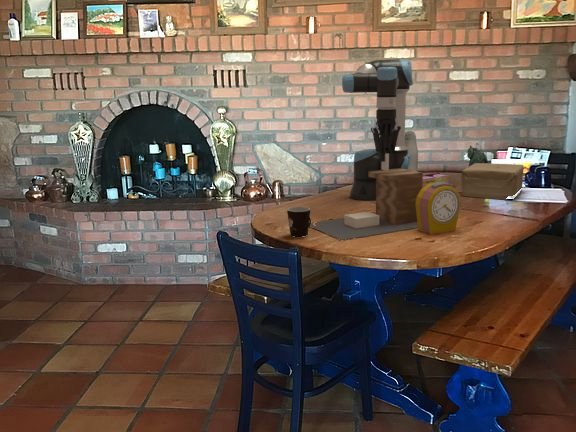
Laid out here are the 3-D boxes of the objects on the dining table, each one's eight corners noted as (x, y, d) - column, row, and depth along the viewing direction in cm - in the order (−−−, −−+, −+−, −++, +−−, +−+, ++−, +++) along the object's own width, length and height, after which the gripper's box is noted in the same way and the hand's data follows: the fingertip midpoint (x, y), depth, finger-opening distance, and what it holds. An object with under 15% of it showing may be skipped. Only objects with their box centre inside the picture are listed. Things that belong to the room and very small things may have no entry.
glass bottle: (398, 179, 327) (399, 130, 320) (416, 179, 325) (418, 130, 319) (399, 182, 317) (400, 131, 311) (417, 182, 316) (419, 131, 309)
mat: (303, 224, 227) (303, 223, 227) (392, 211, 246) (392, 210, 246) (341, 240, 203) (341, 239, 203) (436, 225, 222) (436, 224, 222)
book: (367, 211, 228) (367, 221, 229) (344, 214, 223) (344, 224, 224) (379, 215, 221) (379, 225, 222) (355, 219, 216) (355, 229, 217)
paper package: (471, 187, 298) (473, 161, 295) (524, 191, 285) (526, 164, 282) (458, 197, 276) (460, 168, 272) (514, 201, 263) (517, 171, 260)
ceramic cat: (465, 176, 334) (466, 141, 330) (475, 175, 335) (477, 141, 330) (479, 181, 315) (481, 145, 310) (490, 181, 316) (493, 145, 311)
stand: (367, 220, 232) (368, 171, 228) (399, 215, 240) (400, 168, 235) (388, 227, 220) (389, 176, 216) (420, 222, 227) (422, 172, 223)
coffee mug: (286, 232, 215) (286, 207, 213) (309, 232, 216) (308, 206, 213) (289, 241, 204) (288, 214, 201) (313, 240, 204) (312, 213, 202)
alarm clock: (427, 235, 208) (429, 185, 204) (414, 230, 216) (416, 182, 211) (460, 230, 214) (462, 182, 210) (446, 225, 221) (448, 179, 217)
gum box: (437, 201, 267) (439, 172, 264) (451, 203, 261) (452, 174, 258) (402, 208, 253) (403, 178, 250) (415, 211, 247) (417, 180, 244)
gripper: (378, 109, 211) (377, 172, 217) (406, 108, 217) (404, 169, 222) (366, 108, 218) (365, 169, 223) (393, 107, 224) (392, 167, 229)
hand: (385, 169), depth 223 cm, fingers closed
